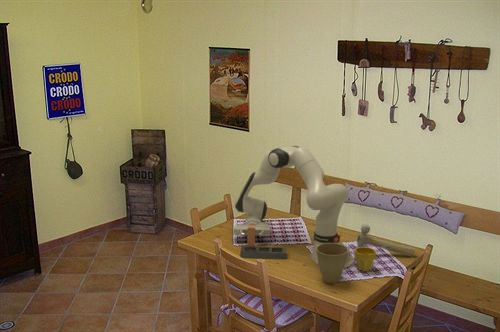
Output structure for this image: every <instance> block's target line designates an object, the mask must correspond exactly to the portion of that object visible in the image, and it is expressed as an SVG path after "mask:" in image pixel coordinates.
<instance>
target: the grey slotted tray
mask: <svg viewBox="0 0 500 332" xmlns="http://www.w3.org/2000/svg"><path fill="white" fill-rule="evenodd" d="M287 255H288V250H287V247H286V246H285V247H283V246H256V245H255V246H245V245H241V246H240V256H241V257H242V258H243V259H248V258H249V259H275V260H276V259H277V260H279V259H280V260H287V258H288V257H287Z"/></svg>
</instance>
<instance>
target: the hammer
mask: <svg viewBox="0 0 500 332" xmlns="http://www.w3.org/2000/svg"><path fill="white" fill-rule="evenodd" d="M370 230H371V226H370V225H367V224H364V223H363V224H362V225H361V227H360V233H359V234H358V235H357V236H358V237H357V239H356V245H357V248H359V247H364V246H363V245H365V246H368V245H369V246H373V247H377V248H381V249H383V250H387V251H390V252H393V253H397V254H401V255H405V256H408V257H411V258H413V257H414V256H415V252H416V249H415V247H412V246H407V245H401V244H398V243H394V242H390V241H387V240H382V239H378V238H374V237H371V236H369V235H368V234H369V233H370Z"/></svg>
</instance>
